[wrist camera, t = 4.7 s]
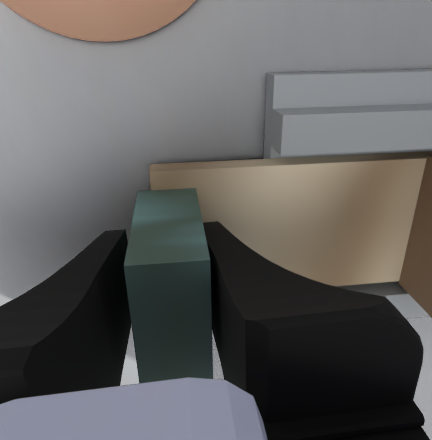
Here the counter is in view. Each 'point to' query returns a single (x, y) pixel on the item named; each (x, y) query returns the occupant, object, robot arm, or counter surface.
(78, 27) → the coaster
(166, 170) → the multicoloured piece
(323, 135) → the lane board
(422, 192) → the walnut block
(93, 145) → the counter surface
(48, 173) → the counter surface
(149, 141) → the counter surface
